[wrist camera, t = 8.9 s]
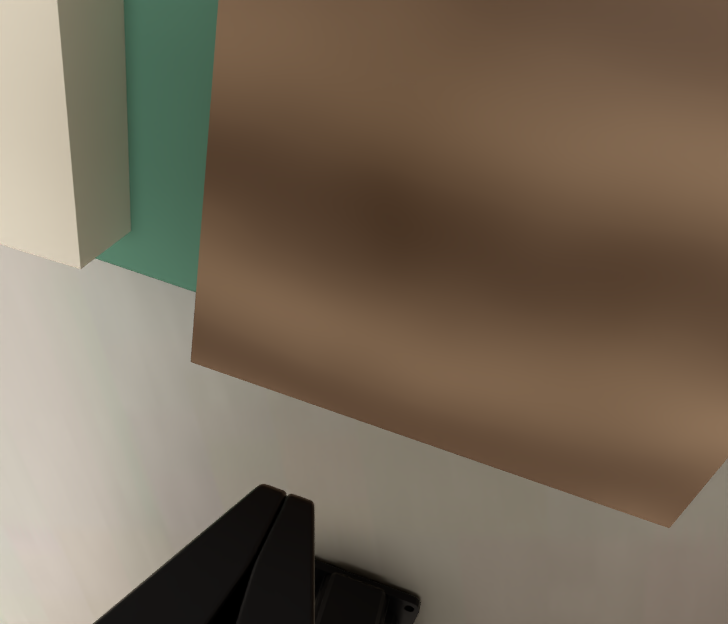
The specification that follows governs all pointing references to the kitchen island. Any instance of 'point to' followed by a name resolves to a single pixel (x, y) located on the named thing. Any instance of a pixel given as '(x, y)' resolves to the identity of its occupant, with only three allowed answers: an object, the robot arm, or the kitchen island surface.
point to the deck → (481, 229)
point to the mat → (166, 135)
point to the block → (63, 128)
